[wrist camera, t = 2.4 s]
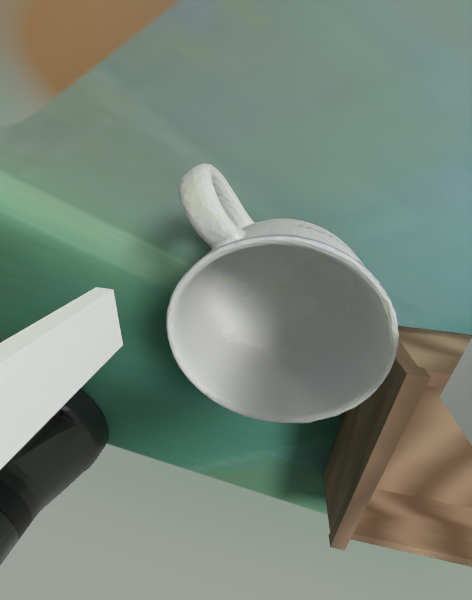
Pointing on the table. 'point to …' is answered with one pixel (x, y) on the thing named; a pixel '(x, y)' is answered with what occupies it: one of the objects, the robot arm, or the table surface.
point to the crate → (405, 458)
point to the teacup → (276, 313)
